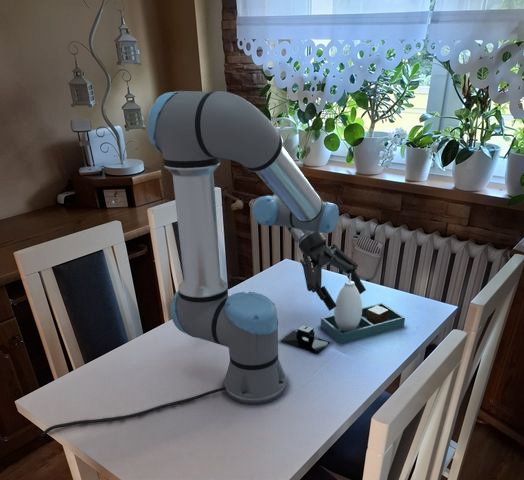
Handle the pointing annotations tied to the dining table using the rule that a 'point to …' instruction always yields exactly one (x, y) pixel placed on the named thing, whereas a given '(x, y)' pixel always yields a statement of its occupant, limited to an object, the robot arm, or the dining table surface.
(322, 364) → the dining table surface
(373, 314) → the walnut block
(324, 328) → the tray
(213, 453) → the dining table surface
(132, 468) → the dining table surface
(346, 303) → the sauce bottle
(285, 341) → the build plate
